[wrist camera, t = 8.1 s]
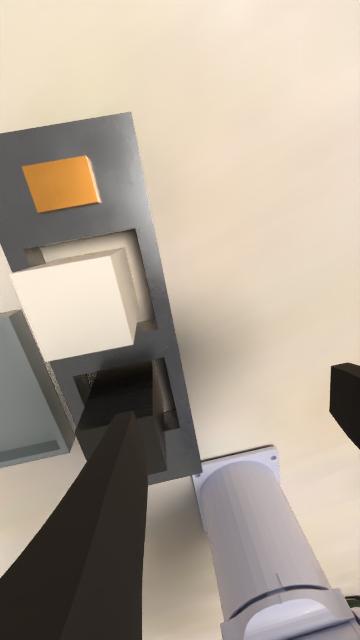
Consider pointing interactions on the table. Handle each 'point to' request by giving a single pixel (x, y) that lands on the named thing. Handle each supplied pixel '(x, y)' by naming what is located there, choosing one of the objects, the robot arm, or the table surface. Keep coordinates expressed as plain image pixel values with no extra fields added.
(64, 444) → the tray
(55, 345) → the plug
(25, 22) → the table surface
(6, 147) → the power strip
